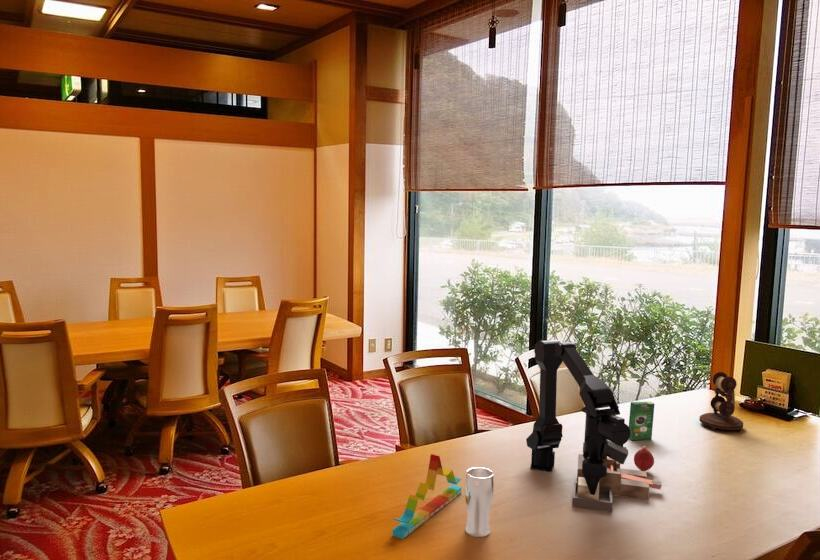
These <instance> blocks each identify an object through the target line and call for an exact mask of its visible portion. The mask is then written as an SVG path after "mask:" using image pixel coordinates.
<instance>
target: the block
mask: <svg viewBox="0 0 820 560" xmlns="http://www.w3.org/2000/svg"><path fill="white" fill-rule="evenodd" d="M577 497H580V498H587V499H594V500H599V483H598V486H597V489H596V492H595V495H591V494H590V491H589V489H588V486H587V483H586V481H585V478H584V477H579V478H578V495H577Z"/></svg>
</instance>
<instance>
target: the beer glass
mask: <svg viewBox="0 0 820 560" xmlns="http://www.w3.org/2000/svg"><path fill="white" fill-rule="evenodd" d="M465 472H466V475H465V481H464V482H465V485H464V496H465V497H464V498H465V505H466V512H467V513H466V514H467V519H466V524H465V532H466V534H467V535H469V536H471V537H475V538H483V537H487V536H489V535H490V534H491V526H490V514H491V509H492V505H493V504H492V503H493V500H494V493H495V491H494V488H495V487H494V485H495V484H494V483H495V482H494V481H495V480H494V471H492V470H490V469H489V468H487V467H486V468H485V467H479V466H478V467H477V466H476V467H471V468H468V469H467V470H466V471H465Z"/></svg>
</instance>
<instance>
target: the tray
mask: <svg viewBox="0 0 820 560" xmlns="http://www.w3.org/2000/svg"><path fill="white" fill-rule="evenodd" d="M577 495H578V483H577V481H576V482H575V481H574V482H573V489H572V500H571V501H572V502H571V503H572V504H571V505H572V506H571V508H576V509H577V508H579V509H586V510H593V511H599V512H607V513H613V503H614V502H613V495H612V487H607V486H599V500H594V499H587V498H580V497H577Z"/></svg>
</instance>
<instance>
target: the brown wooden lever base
mask: <svg viewBox="0 0 820 560" xmlns="http://www.w3.org/2000/svg"><path fill="white" fill-rule="evenodd" d="M577 456H578V457H577V473H576V474H577V477H576V483H578V478H579V477H584V475H583V474H582V461H583V460H584V457H583V453H582V454H581V453H578V455H577ZM603 461H604V462H605V463H606V464H607V467H608V468H610V467H611V465H613V471H608V470H607V476H605V477H602V478H600V480H599V486H607V487H612V496H616V497H623V498H630V499H638V500H644V501H645V500H646V501H649V497H650V487H649V484H648V482H644V481H636V480H629V479H621V473H623V474H627V475H633V476H636V477H640V478H645V479H648V476H647V475H648V474H647V471H641V470H639V469H638V470H636V469H627V468H622V467H621V464H620V463H618V462H617V461H615V460H613V459H611V458H609V457H607V459H604V460H603Z"/></svg>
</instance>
